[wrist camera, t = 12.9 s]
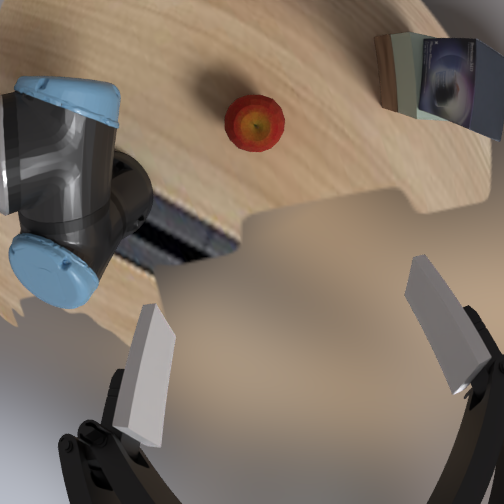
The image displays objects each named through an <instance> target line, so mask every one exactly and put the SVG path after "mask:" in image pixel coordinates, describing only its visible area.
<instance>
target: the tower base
mask: <svg viewBox="0 0 504 504" xmlns="http://www.w3.org/2000/svg"><path fill="white" fill-rule="evenodd" d="M374 41H375V47H376V54H377V61H378V69H379V78H380V88H381V100H382V108H385V109H388V110H391V111H394V112H398V98H397V83H396V72H395V63H394V54H393V47H392V40H391V35H390V34H388V35H382V36H377V37H374Z"/></svg>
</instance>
